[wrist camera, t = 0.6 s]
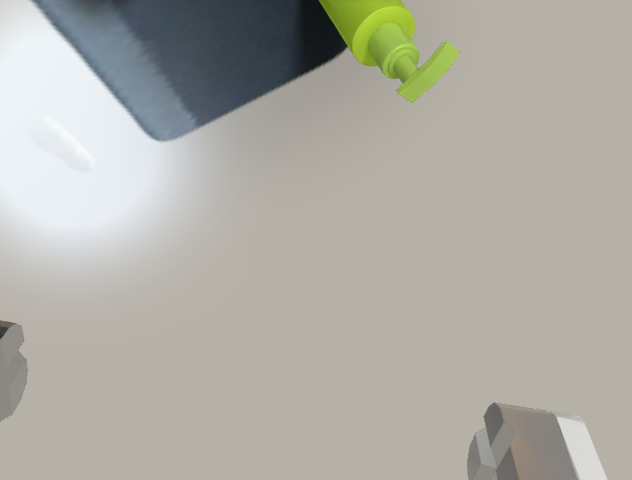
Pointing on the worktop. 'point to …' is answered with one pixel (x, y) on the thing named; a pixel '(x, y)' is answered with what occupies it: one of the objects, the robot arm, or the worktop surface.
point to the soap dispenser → (388, 42)
